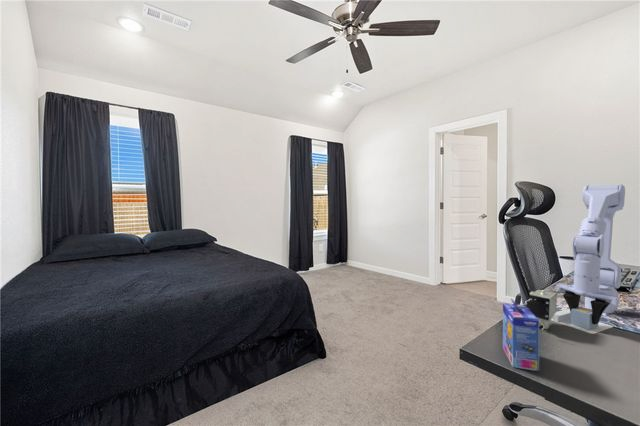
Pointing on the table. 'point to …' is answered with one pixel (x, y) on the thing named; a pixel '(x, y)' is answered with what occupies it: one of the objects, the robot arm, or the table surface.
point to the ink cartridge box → (521, 336)
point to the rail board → (565, 319)
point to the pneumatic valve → (542, 306)
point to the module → (582, 317)
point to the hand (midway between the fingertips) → (584, 320)
